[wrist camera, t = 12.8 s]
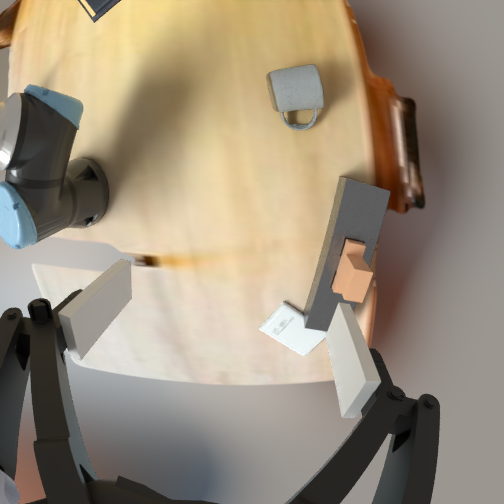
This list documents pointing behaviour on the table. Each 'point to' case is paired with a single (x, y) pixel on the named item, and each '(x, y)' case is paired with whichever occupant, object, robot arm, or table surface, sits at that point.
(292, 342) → the external hard drive
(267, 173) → the table surface
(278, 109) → the ceramic mug
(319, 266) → the rail
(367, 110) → the table surface
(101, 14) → the dark gray flat slab
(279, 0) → the table surface
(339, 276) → the tan wooden block
